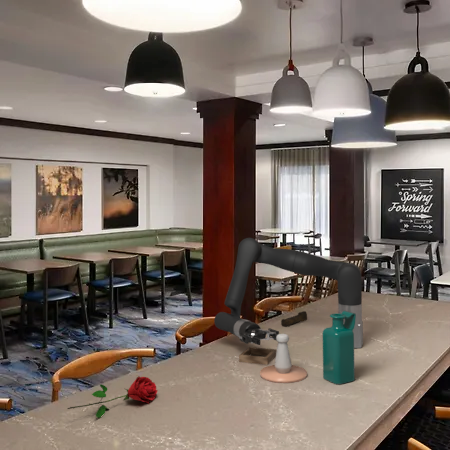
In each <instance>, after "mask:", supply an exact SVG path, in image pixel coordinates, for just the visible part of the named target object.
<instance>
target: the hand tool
mask: <svg viewBox="0 0 450 450" xmlns="http://www.w3.org/2000/svg"><path fill="white" fill-rule="evenodd" d="M307 319H308V314H307V311H305V310H304V311H300V312H298V313H297V314H296V315H293V316H291V317H288V318H282V319H281V320H280V325H281V326H282V327H284V328H287V327H290V326H291V325H294V324H297V323H299V322H300V323H303V322H305V321H306V320H307Z"/></svg>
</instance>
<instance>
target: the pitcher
mask: <svg viewBox="0 0 450 450" xmlns="http://www.w3.org/2000/svg"><path fill="white" fill-rule="evenodd" d="M329 317H330V318H331V319H332V320H331V321H332V323H331V324H332V325H331V326H329V327H326V328H324V329H323V330H322V333H321V334H322V376H323V377H322V378H323V379H324V380H326V381H328V382H331V383H333V384H334V385H343V384H348V383H351V382H353V381H355V377H356V375H355V374H356V373H355V371H356V370H355V348H354V332H353V329H354V326H355V319H356V314H355V313H351V312H348V311H343V312H342V314H339V313H337V312H336V313H331V314H330V315H329ZM344 319H345V322H344Z"/></svg>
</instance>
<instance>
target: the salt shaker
mask: <svg viewBox="0 0 450 450" xmlns="http://www.w3.org/2000/svg"><path fill="white" fill-rule="evenodd" d="M276 340H277V341H276ZM276 340H275V341H276V342H277V346H276V357H275V358H274V359H275V360H274V365H275V368H276V370H277V372H278V373H280V374H286V373H289V371H290V369H291V367H292V365H293V364H292V359H291V355H290V351H289V346H288V342H289V341H290V336H289V335H288V334H286V333H279V334H278V335H277V336H276Z"/></svg>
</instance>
